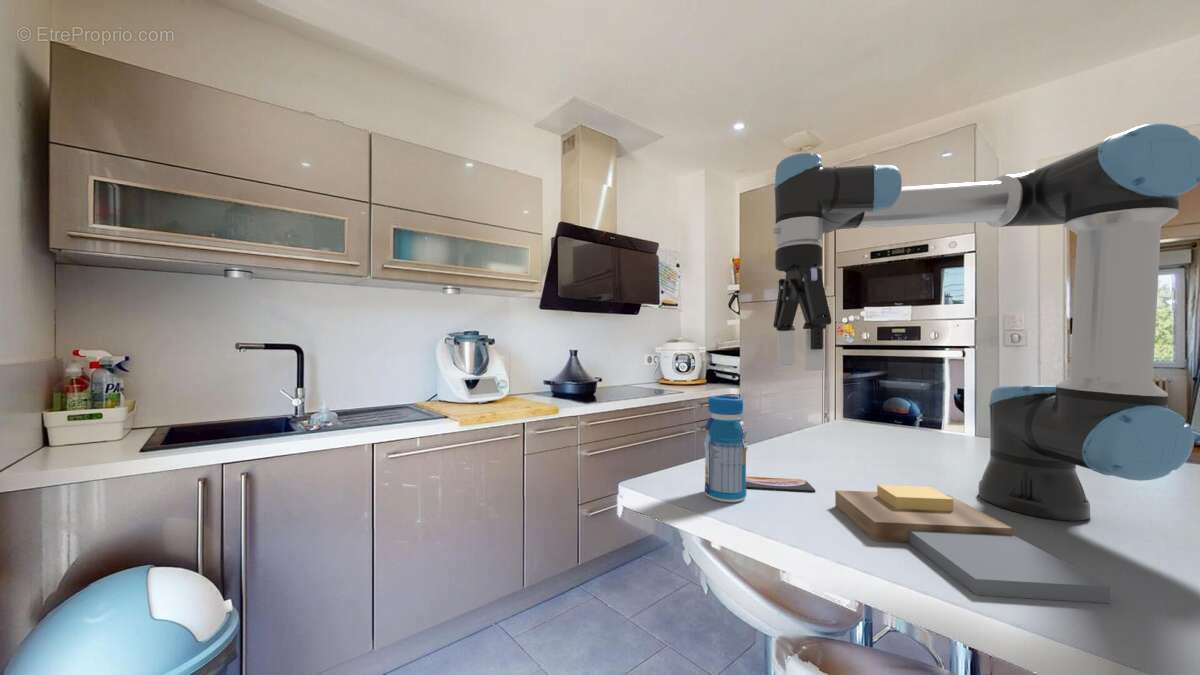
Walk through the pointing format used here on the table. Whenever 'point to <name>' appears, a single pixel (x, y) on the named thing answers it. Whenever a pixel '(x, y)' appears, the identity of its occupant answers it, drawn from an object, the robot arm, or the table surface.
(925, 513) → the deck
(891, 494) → the tile
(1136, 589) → the table surface
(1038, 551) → the mat
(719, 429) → the beverage bottle
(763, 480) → the smartphone
